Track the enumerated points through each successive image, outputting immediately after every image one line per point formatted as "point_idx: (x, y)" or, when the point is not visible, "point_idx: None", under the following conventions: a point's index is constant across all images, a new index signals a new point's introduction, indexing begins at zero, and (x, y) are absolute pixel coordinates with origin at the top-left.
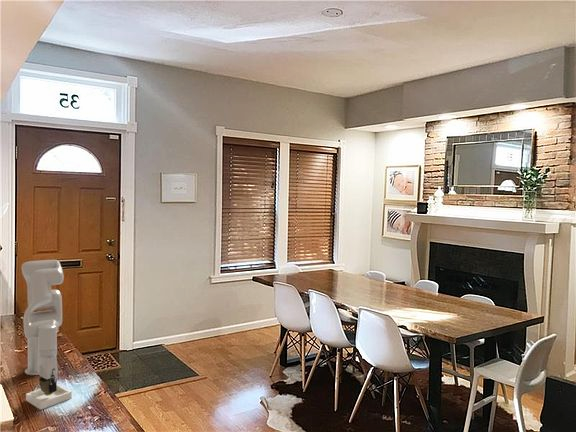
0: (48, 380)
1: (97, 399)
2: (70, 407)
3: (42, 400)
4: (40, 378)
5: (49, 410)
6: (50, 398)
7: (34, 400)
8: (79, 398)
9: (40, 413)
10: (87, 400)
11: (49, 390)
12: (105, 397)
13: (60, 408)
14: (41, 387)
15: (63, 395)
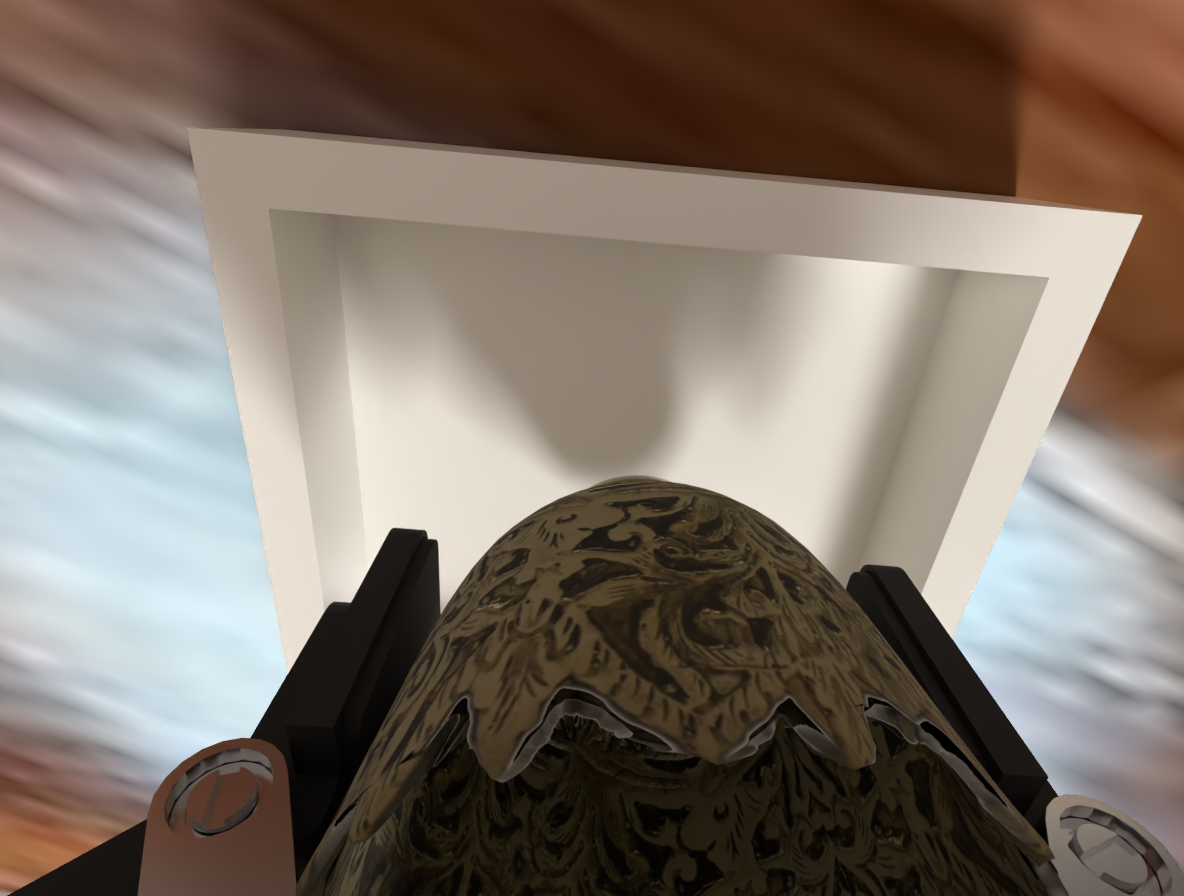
0: (844, 846)
1: (58, 803)
2: (7, 513)
3: (624, 373)
4: (1029, 851)
5: (114, 233)
6: (280, 432)
7: (573, 161)
8: (260, 720)
9: (79, 16)
10: (112, 738)
11: (372, 573)
12: (58, 862)
13: (73, 403)
14: (643, 525)
15: (293, 645)
